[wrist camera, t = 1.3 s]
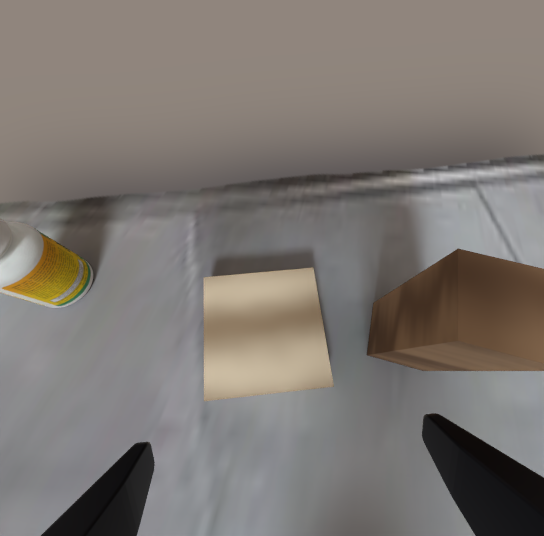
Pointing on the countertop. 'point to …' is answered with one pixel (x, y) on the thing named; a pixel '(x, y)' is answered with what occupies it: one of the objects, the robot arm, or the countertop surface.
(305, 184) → the countertop surface
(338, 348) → the countertop surface
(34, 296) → the supplement bottle
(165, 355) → the countertop surface
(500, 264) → the walnut block
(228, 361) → the birch block
